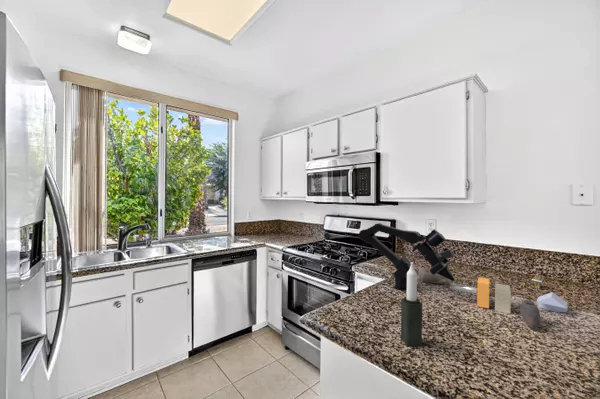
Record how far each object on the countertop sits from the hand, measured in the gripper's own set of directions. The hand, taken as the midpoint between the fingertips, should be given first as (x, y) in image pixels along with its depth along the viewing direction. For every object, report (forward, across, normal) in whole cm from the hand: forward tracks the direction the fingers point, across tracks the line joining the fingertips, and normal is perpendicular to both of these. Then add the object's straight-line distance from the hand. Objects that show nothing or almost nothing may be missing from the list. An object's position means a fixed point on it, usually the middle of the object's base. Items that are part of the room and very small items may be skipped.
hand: (454, 280), depth 122 cm
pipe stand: (+13, 0, -1) cm, 13 cm away
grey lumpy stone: (-2, +23, +14) cm, 27 cm away
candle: (+2, -52, +10) cm, 53 cm away
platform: (+30, +49, -18) cm, 60 cm away
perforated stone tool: (+24, -11, -12) cm, 29 cm away
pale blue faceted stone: (+30, +13, -19) cm, 38 cm away
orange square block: (+14, 0, -2) cm, 14 cm away
